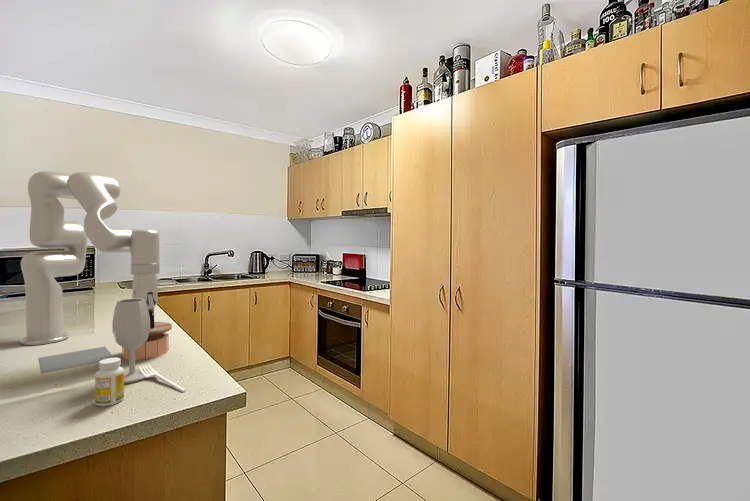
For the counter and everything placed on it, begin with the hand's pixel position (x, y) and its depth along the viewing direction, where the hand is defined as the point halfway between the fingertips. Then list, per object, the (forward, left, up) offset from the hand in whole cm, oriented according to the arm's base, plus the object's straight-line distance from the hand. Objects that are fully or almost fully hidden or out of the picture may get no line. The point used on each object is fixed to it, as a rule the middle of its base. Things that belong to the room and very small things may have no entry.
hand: (146, 326), depth 111 cm
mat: (-8, -16, -9) cm, 20 cm away
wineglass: (+17, -7, -10) cm, 21 cm away
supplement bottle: (+29, -14, -10) cm, 34 cm away
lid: (0, 0, -1) cm, 1 cm away
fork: (+26, -2, -9) cm, 27 cm away
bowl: (0, 0, -9) cm, 9 cm away
